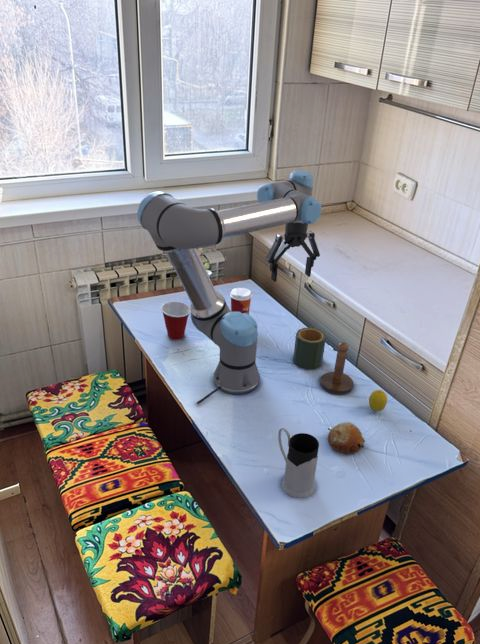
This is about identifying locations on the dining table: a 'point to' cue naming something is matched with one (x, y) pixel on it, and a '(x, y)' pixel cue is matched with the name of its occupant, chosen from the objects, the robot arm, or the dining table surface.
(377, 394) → the lemon
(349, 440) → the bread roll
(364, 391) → the dining table surface
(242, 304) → the coffee cup
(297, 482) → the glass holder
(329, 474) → the dining table surface
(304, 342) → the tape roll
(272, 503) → the dining table surface
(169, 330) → the plastic cup
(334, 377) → the peg stand
